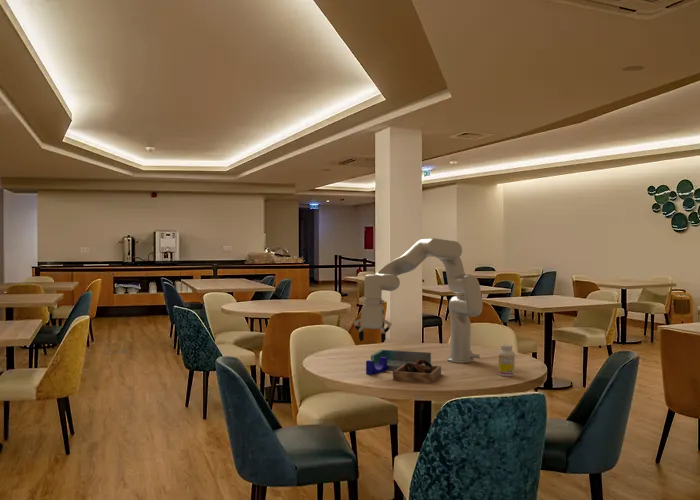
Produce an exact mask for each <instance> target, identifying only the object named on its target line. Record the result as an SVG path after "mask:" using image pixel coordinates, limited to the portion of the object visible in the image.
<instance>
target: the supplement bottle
mask: <svg viewBox="0 0 700 500" xmlns="http://www.w3.org/2000/svg"><path fill="white" fill-rule="evenodd" d="M500 349H501V350H500V351H499V352H498V375H500V376H501V377H505V378H508V377H509V378H510V377H514V376H515V373H516V371H515V370H516V368H515V367H516V366H515V365H516V364H515V362H516V361H515V357H516V356H515V352H514V351H513V345H512V344H511V345H510V344H501V345H500Z"/></svg>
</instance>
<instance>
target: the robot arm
mask: <svg viewBox="0 0 700 500" xmlns="http://www.w3.org/2000/svg"><path fill="white" fill-rule="evenodd" d="M462 254H463V248H462V245H461V244H460V242H458V241H455V240H449V239H442V238H437V237H436V238H434V237H430V238H428V237H427V238H420V239H418V240H417V241H416V242H415V243H414V244H413V245H411V247H409V248H408V249H407V250H406V251H405V252H404V253H403V254H402V255H401V256H399V257H397V258H395V259H393V260H391V261H390V262H388V263H387V264H385V265H383V267H381V268H380V269H379V270H378V271H377V272H376V273H375V274H373V273H371V274H365V276H364V296H363V297H364V298H363V301H364V302H363V303H364V304H363V305H362V309H361V313H360V318H358V319H355V320H354V321H353V322H352V323H353V325H354V327H355V329H356V330H357V331H358V339H359V342H363V341H364V339H365V337H364V334H365V332H364V330H365V329H372V330H373V329H375V330H377V329H378V330H379V331H380V332H381V333H380V343H385V341H386V339H387V338H386V336H387V335H386V333H387V332H389V330H390V329H391V327H392V325H393V324H392V322H390V321H388V320H386V317H385V308H384V305H383V304H385V300H384V299H383V298H382V291H388V292H393V291H396V290H398V288H399V287H400V286H401V281H400V278H399V275H403V274H407V273H410V272H412V271H414V270H416V269H417V268H418V267H419V266H420V264H422V263H423V262H424V261H425V260H426V259H427V258H433V257H434V258H436V259H438V260H439V261H441V263H442V264H443V266H444V268H445V273H446V274H445V275H446V279H447V285H448V289H449V291H450V292H451V293H453V294H458V295H453V296H452V297H451V298H450V299H449V302H448V311H449V316H450V356H448V357H446V358H447V359H446V360H447V361H448V362H451V363H456V364H457V363H458V364H459V363H460V364H467V363H469V364H470V363H473V362H474V361H475V360H474V359H480V356H481V355H480V354H478V353H473V351H472V349H471V346H472V345H471V336H472V335H471V332H472V331H471V328H472V327H471V320H470V317H472V318H474V317H479V316H480V315H481V314H482V312H483V297H482V290H481V285H480V282H479V280H478V278H477V277H476V276H475V275H473V274H470V273H466V272H465V268H464V265H463V261H462V258H461V256H462ZM359 323H360V325H359ZM385 325H386V328H385Z"/></svg>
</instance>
